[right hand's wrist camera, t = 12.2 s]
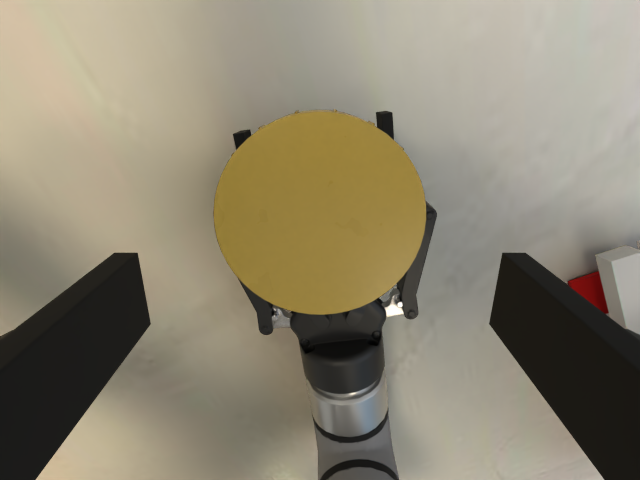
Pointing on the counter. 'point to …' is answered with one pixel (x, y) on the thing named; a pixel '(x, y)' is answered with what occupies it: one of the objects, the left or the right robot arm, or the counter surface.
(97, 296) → the right robot arm
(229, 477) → the counter surface
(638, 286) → the toy
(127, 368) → the counter surface
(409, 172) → the lid
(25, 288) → the counter surface
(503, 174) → the counter surface
